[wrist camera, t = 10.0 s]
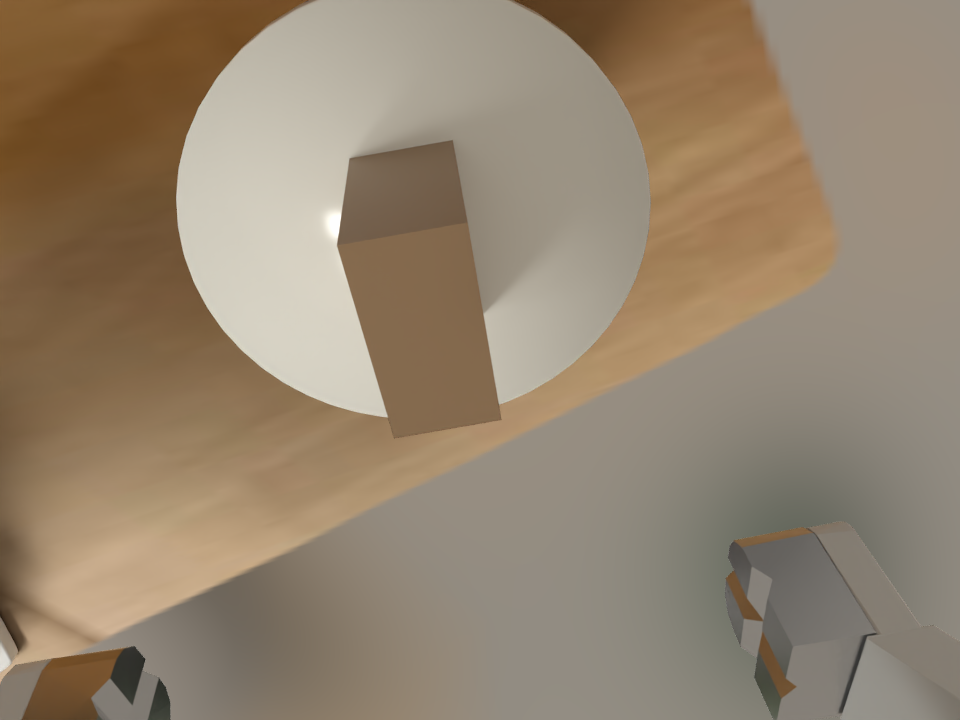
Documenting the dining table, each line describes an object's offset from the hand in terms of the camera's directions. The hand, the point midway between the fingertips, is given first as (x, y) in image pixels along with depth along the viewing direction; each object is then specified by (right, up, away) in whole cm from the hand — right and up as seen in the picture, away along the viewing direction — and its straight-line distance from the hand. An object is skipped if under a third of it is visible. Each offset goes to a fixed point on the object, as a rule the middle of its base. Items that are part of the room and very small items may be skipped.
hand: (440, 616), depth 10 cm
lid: (-1, +7, +9) cm, 12 cm away
